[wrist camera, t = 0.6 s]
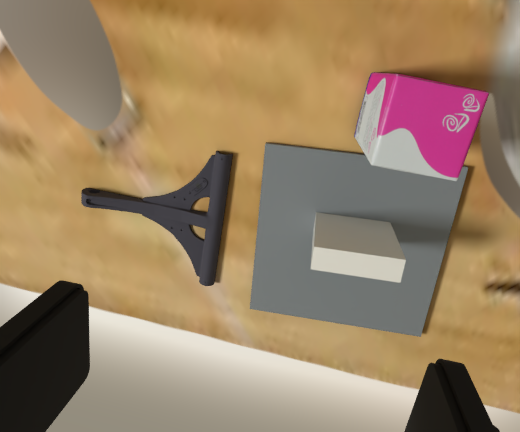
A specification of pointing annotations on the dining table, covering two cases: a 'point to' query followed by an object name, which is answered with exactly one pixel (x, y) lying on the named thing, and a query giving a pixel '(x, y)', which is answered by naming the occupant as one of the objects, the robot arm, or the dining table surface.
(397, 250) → the tile
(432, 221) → the mat
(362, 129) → the supplement box
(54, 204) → the dining table surface
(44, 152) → the dining table surface
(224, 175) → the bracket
